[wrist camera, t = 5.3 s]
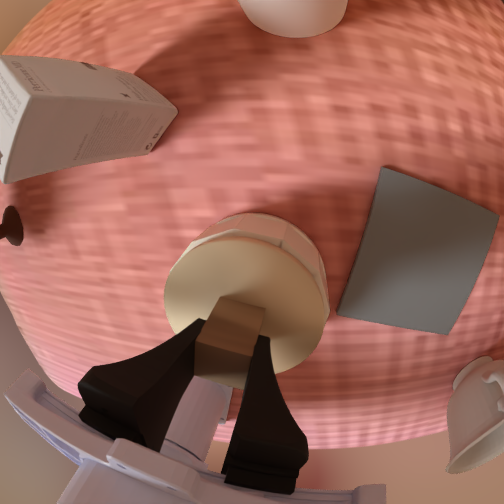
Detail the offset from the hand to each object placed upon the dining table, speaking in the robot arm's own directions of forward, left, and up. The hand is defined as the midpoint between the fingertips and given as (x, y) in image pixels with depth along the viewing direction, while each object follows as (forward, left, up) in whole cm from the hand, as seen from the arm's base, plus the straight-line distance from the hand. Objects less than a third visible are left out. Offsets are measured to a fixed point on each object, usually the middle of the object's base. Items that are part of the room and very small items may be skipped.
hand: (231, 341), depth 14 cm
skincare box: (+11, +11, -7) cm, 17 cm away
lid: (0, 0, -3) cm, 3 cm away
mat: (+5, -12, -7) cm, 15 cm away
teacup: (-5, -25, -7) cm, 26 cm away
